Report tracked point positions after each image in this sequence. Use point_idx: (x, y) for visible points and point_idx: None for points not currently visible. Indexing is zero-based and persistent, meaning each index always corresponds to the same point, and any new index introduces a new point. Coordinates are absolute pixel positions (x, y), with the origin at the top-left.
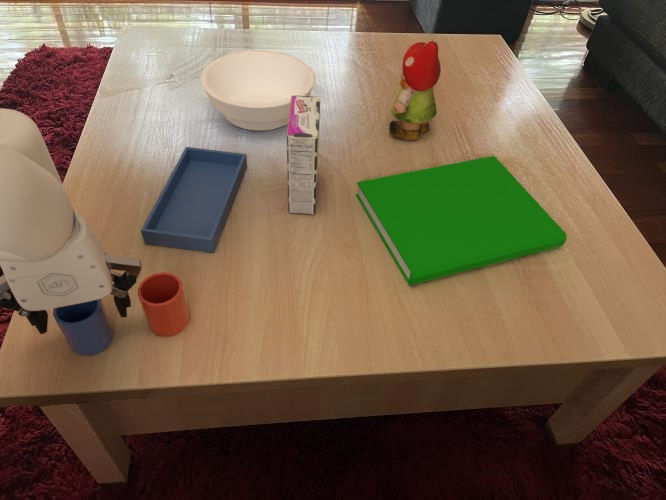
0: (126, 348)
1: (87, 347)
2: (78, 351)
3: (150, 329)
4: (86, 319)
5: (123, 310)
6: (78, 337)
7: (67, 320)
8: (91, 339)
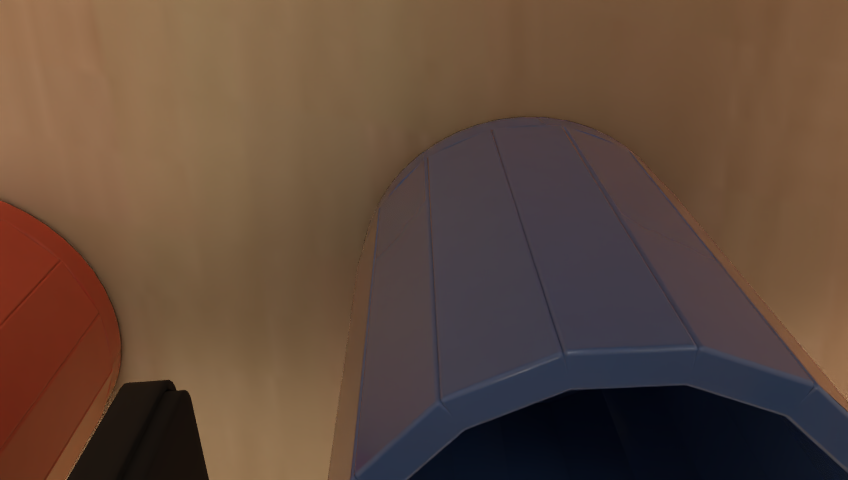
0: (257, 133)
1: (541, 153)
2: (621, 150)
3: (80, 268)
4: (486, 407)
5: (80, 462)
6: (611, 219)
7: (706, 432)
8: (489, 199)
